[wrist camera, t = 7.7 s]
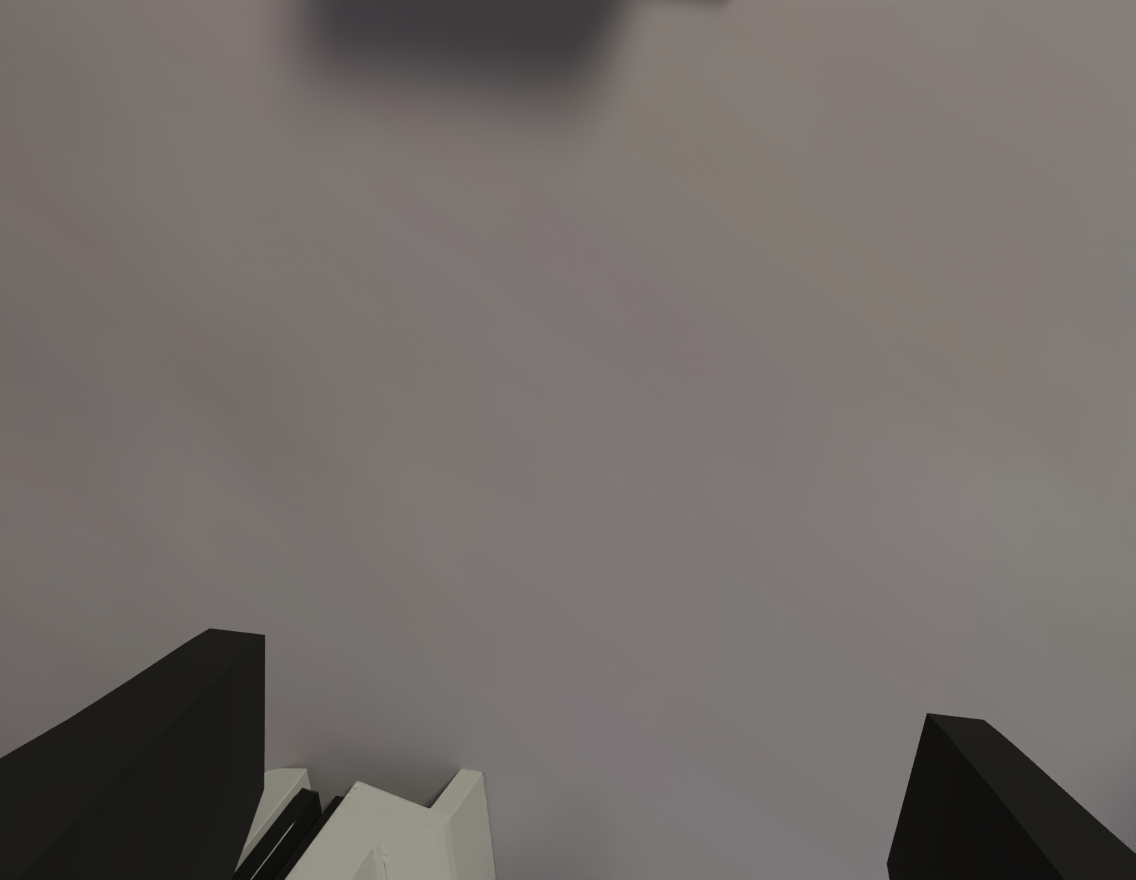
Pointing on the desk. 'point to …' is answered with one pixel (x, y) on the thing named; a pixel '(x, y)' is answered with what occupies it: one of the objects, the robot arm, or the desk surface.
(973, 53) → the desk surface
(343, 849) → the grey curved piece
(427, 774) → the desk surface
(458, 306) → the desk surface
